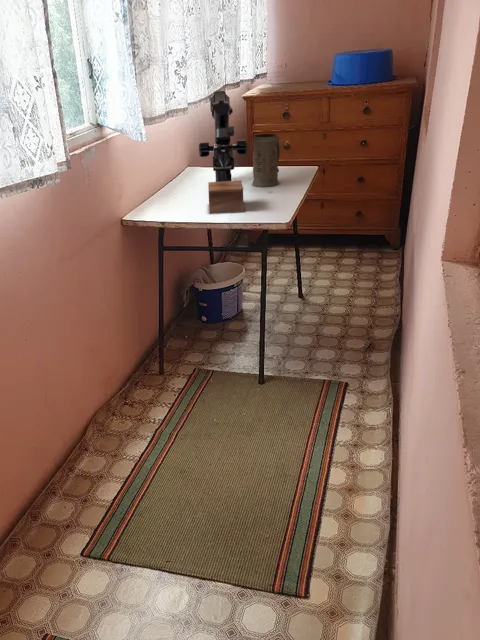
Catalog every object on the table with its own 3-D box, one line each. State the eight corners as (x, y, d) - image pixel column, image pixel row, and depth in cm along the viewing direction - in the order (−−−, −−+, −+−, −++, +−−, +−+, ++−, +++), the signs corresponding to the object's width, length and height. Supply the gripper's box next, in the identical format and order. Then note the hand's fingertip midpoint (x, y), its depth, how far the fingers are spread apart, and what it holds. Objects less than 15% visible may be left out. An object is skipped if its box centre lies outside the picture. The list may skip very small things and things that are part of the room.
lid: (243, 190, 219) (243, 188, 219) (208, 192, 220) (208, 190, 219) (241, 182, 230) (241, 180, 230) (208, 184, 231) (208, 182, 231)
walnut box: (243, 211, 224) (243, 190, 220) (209, 213, 224) (208, 192, 220) (241, 202, 234) (241, 182, 230) (209, 204, 235) (208, 184, 231)
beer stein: (270, 188, 251) (272, 136, 242) (247, 186, 256) (248, 135, 247) (286, 182, 262) (288, 132, 253) (263, 180, 267) (265, 131, 258)
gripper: (197, 120, 230) (199, 156, 226) (246, 117, 229) (248, 153, 225) (198, 138, 241) (200, 173, 237) (245, 135, 240) (248, 170, 236)
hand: (224, 167), depth 234 cm, fingers closed
